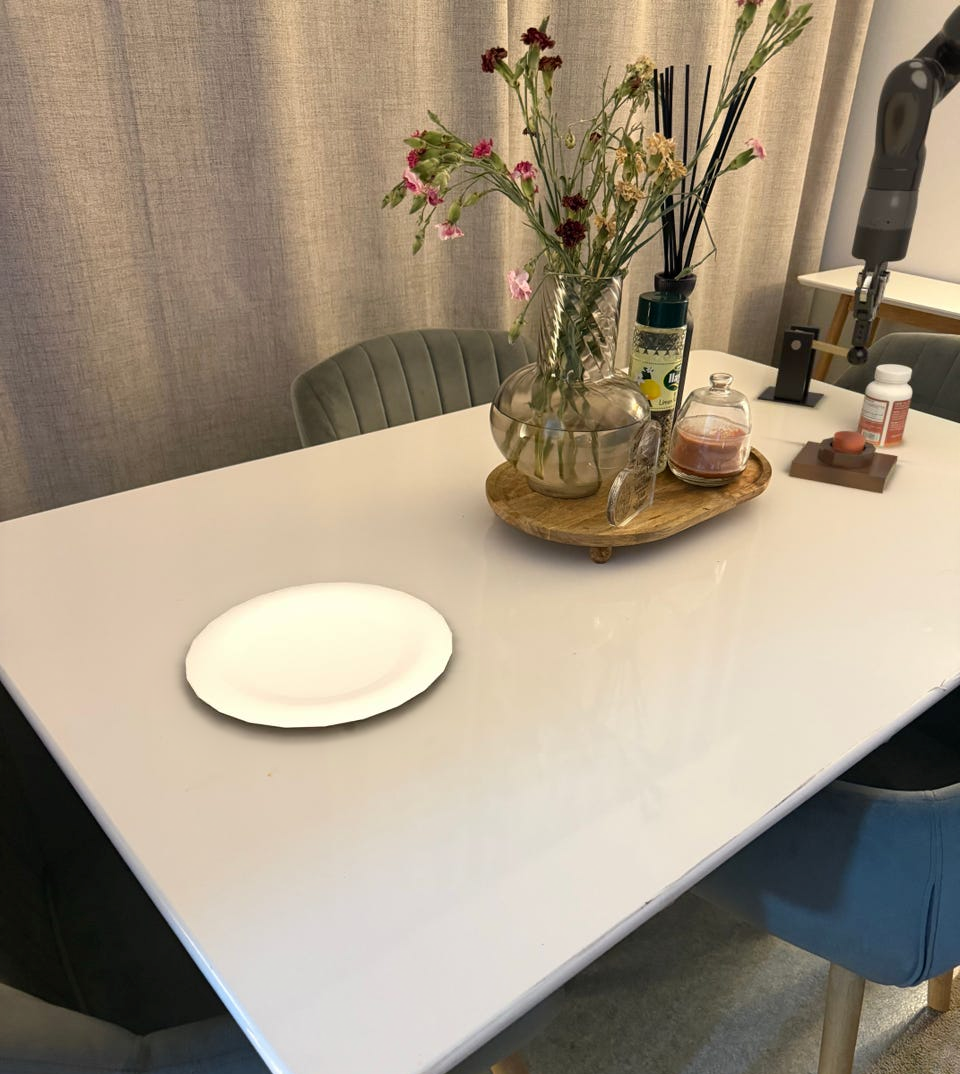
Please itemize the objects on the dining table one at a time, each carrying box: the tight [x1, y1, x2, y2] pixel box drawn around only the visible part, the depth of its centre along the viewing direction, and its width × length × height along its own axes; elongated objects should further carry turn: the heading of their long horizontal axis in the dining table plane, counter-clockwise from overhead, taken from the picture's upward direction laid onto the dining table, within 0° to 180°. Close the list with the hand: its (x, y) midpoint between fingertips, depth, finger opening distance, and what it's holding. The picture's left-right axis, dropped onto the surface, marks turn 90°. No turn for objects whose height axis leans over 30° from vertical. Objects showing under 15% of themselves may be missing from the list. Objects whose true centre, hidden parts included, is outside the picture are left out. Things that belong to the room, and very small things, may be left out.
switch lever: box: [795, 330, 870, 368], centre depth 143 cm, size 12×3×3 cm, turn 60°
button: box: [832, 430, 866, 452], centre depth 122 cm, size 4×4×2 cm
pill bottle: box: [857, 363, 913, 447], centre depth 131 cm, size 6×6×11 cm
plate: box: [184, 581, 453, 730], centre depth 87 cm, size 25×25×2 cm
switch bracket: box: [757, 324, 825, 409], centre depth 147 cm, size 9×7×12 cm
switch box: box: [788, 436, 899, 495], centre depth 124 cm, size 12×9×4 cm
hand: (859, 345), depth 141 cm, fingers closed
